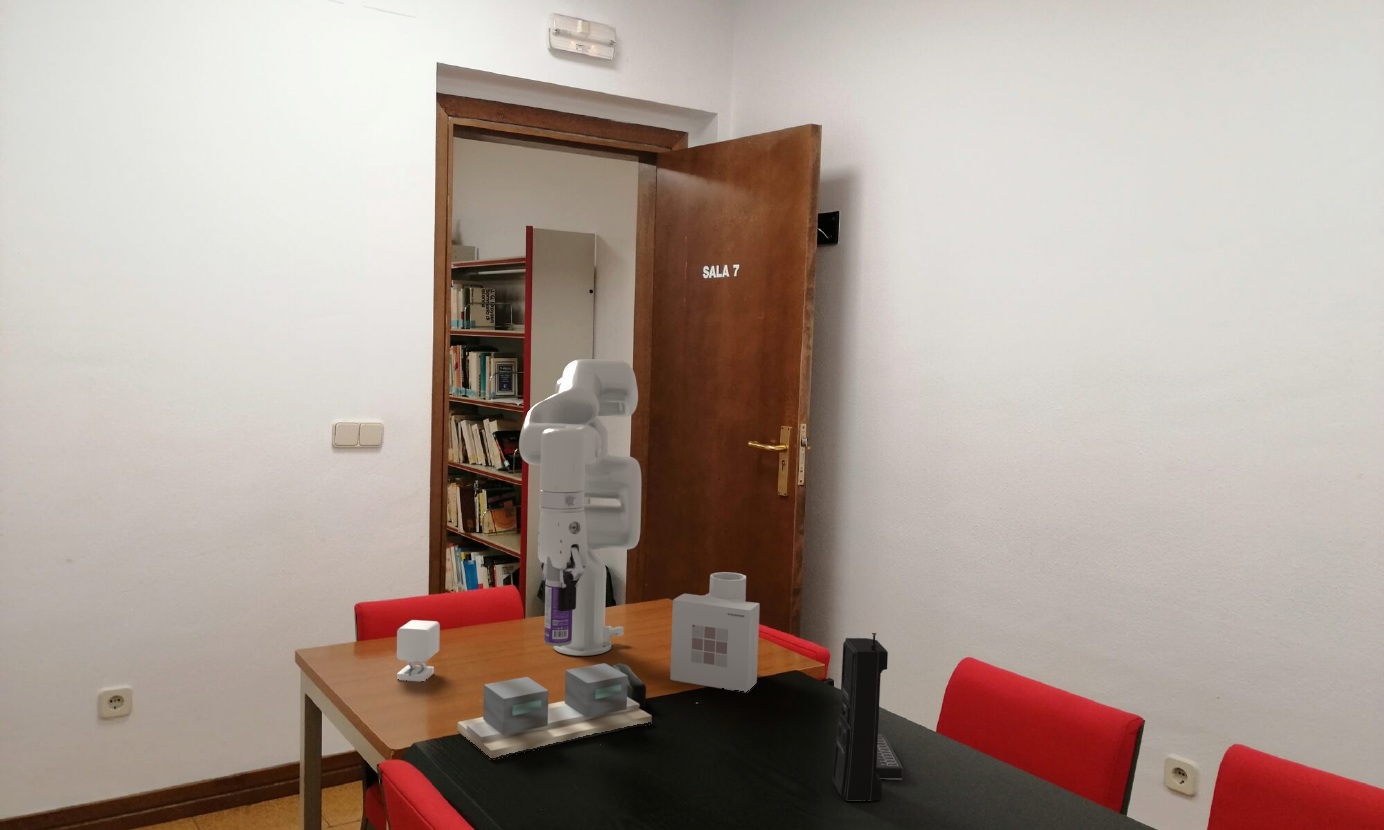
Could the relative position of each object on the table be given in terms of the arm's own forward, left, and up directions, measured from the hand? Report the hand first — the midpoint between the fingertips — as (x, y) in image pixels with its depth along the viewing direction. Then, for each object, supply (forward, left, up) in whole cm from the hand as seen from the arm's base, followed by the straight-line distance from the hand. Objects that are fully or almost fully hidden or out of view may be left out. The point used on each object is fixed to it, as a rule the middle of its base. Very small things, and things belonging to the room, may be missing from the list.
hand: (559, 605), depth 167 cm
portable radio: (-27, +45, -22) cm, 57 cm away
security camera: (+11, -38, -22) cm, 45 cm away
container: (0, 0, -7) cm, 7 cm away
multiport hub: (-38, +39, -22) cm, 59 cm away
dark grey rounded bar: (-19, -8, -22) cm, 30 cm away
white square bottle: (-43, -9, -22) cm, 49 cm away
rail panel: (0, 0, -21) cm, 21 cm away
